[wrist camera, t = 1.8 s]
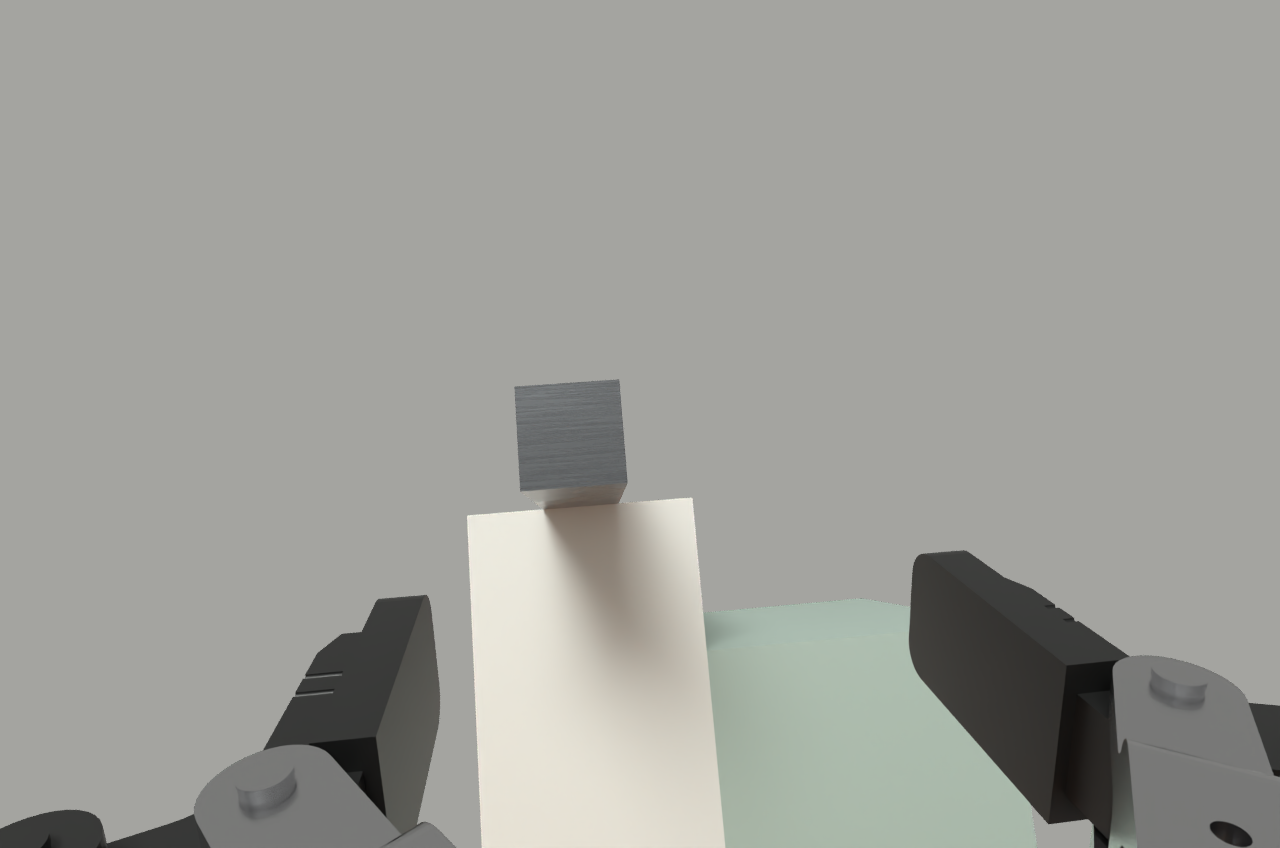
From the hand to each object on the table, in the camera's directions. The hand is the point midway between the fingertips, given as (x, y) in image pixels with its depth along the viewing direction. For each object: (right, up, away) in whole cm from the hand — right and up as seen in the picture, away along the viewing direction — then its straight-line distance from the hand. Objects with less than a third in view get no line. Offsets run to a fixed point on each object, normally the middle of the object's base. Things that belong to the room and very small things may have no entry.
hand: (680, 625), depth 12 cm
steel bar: (-3, 0, +20) cm, 20 cm away
